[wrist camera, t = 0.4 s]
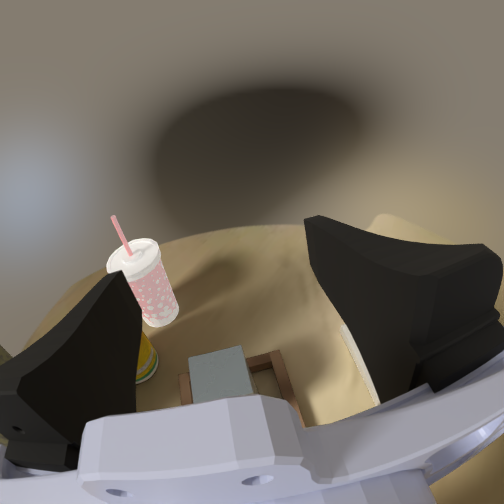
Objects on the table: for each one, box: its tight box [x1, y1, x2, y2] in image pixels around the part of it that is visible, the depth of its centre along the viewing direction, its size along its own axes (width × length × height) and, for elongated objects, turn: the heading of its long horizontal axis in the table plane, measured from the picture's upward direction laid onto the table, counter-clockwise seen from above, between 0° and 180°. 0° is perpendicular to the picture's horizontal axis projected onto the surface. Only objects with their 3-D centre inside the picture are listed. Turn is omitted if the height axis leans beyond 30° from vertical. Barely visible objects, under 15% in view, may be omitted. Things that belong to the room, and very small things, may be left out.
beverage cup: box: [106, 215, 179, 327], centre depth 32 cm, size 6×6×14 cm
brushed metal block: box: [188, 345, 258, 403], centre depth 22 cm, size 4×4×8 cm
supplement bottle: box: [136, 331, 158, 384], centre depth 28 cm, size 5×5×10 cm
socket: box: [178, 350, 306, 428], centre depth 25 cm, size 10×10×1 cm
